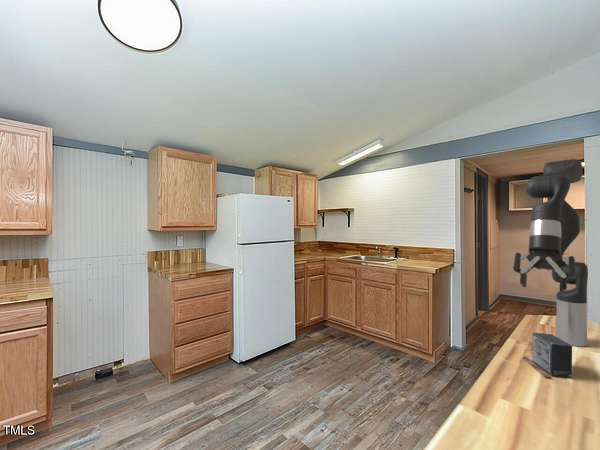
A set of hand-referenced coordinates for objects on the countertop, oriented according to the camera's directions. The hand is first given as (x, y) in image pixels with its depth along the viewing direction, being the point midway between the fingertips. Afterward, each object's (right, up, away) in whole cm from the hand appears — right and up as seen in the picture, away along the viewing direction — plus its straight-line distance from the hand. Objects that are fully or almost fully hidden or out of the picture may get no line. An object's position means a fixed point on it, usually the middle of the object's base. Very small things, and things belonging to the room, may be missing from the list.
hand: (542, 289), depth 87 cm
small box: (+12, -30, +11) cm, 34 cm away
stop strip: (+8, -29, +12) cm, 33 cm away
